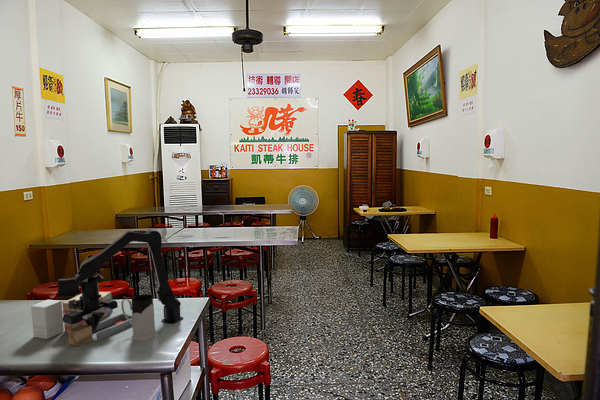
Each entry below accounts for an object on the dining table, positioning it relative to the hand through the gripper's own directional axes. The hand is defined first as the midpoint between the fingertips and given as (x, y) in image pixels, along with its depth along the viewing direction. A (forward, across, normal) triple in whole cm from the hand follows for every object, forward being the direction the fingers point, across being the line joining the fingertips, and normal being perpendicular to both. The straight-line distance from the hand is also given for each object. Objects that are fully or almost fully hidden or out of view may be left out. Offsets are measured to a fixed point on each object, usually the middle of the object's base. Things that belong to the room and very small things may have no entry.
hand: (93, 332), depth 144 cm
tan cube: (+2, +5, 0) cm, 5 cm away
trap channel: (+2, -7, 0) cm, 7 cm away
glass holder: (+2, -9, +14) cm, 17 cm away
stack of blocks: (+2, -9, -15) cm, 17 cm away
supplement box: (+2, +6, -18) cm, 19 cm away
